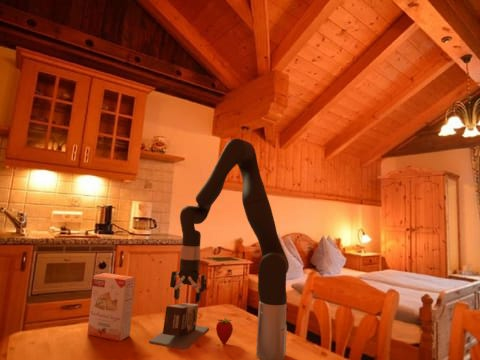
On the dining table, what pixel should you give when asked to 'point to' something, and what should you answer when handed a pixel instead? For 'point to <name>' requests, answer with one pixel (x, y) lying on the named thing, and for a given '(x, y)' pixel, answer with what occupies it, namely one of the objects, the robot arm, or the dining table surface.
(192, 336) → the slate mat
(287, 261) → the robot arm
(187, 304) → the coffee box
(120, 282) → the cracker box
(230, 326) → the strawberry
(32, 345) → the dining table surface
